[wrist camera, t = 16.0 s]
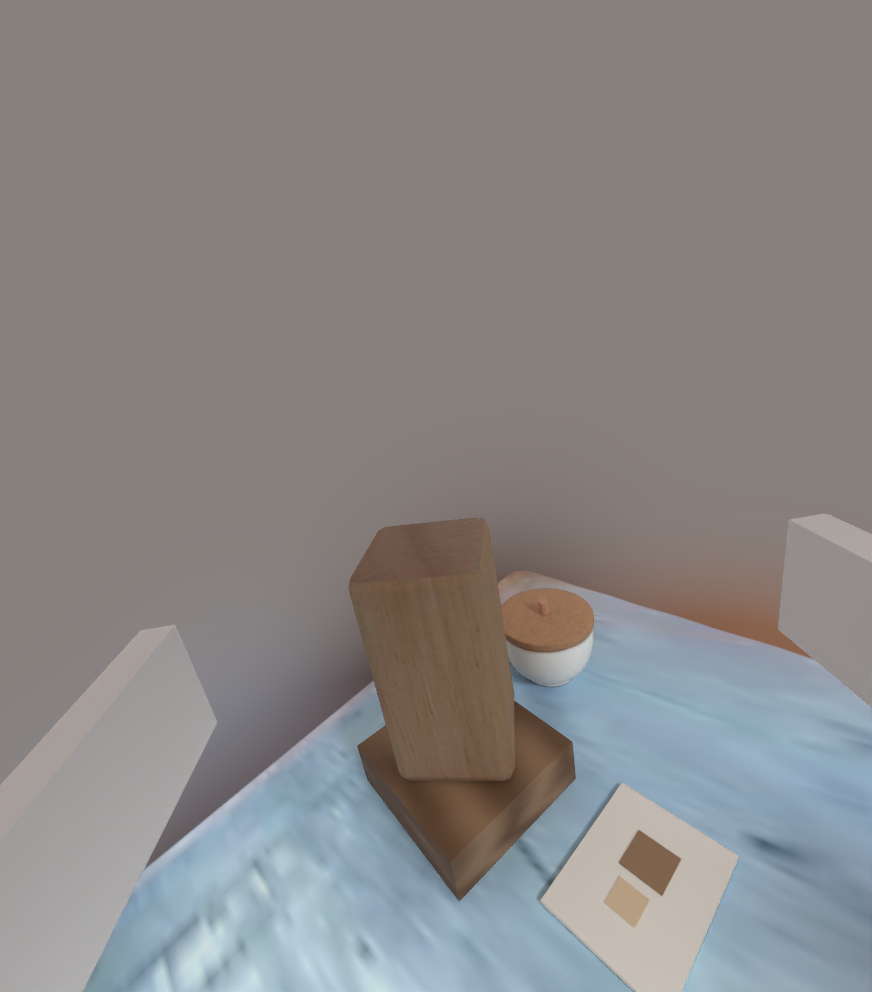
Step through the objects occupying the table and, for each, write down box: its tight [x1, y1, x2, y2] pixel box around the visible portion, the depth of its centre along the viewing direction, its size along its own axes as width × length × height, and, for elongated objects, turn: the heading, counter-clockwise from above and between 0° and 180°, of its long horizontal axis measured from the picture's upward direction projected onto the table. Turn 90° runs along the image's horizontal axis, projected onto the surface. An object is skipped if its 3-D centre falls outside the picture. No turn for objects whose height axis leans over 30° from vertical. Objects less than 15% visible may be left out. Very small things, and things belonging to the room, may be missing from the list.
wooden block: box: [349, 518, 515, 781], centre depth 40 cm, size 10×10×20 cm
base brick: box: [358, 701, 576, 901], centre depth 43 cm, size 14×14×5 cm
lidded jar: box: [501, 588, 594, 687], centre depth 54 cm, size 11×11×9 cm
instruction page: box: [540, 783, 739, 992], centre depth 34 cm, size 12×9×1 cm
